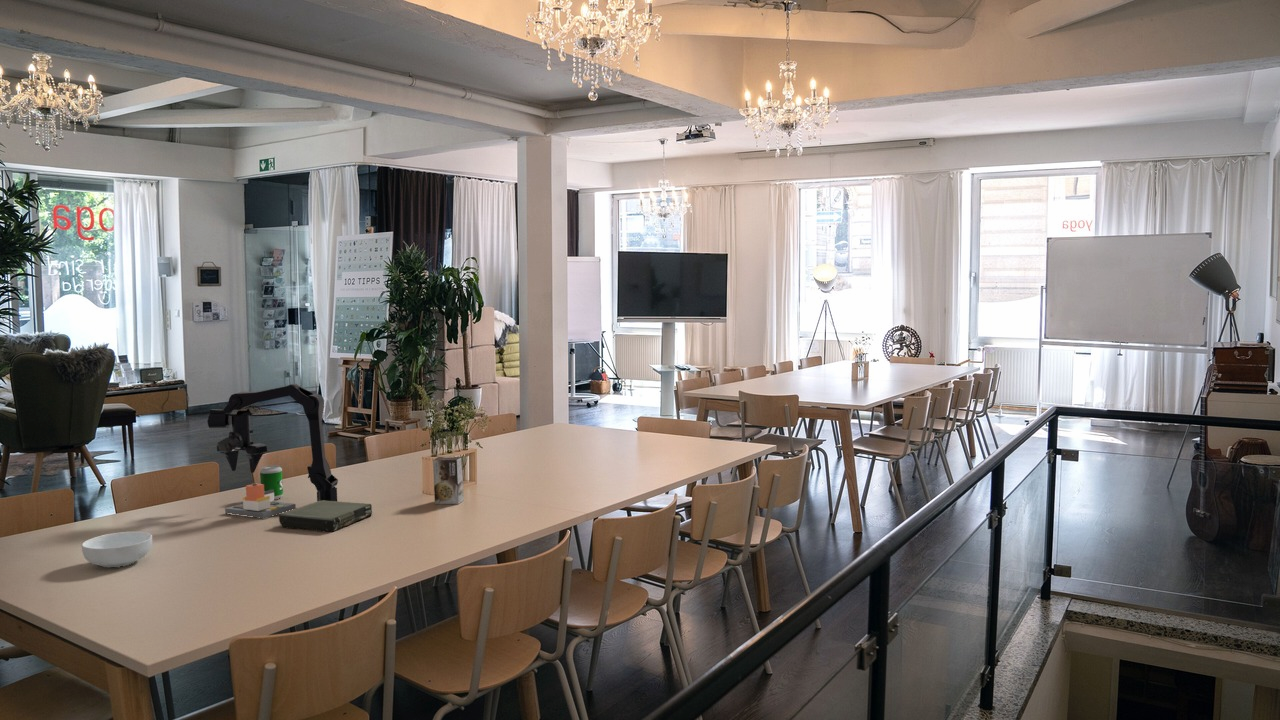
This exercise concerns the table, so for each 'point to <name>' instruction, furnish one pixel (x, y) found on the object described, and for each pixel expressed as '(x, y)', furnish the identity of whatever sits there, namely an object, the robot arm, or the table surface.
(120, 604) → the table surface
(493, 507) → the table surface
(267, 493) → the block
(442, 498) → the coffee box
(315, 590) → the table surface
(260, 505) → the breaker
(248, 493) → the cap
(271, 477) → the soda can
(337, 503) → the network switch
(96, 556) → the cereal bowl
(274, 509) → the panel
